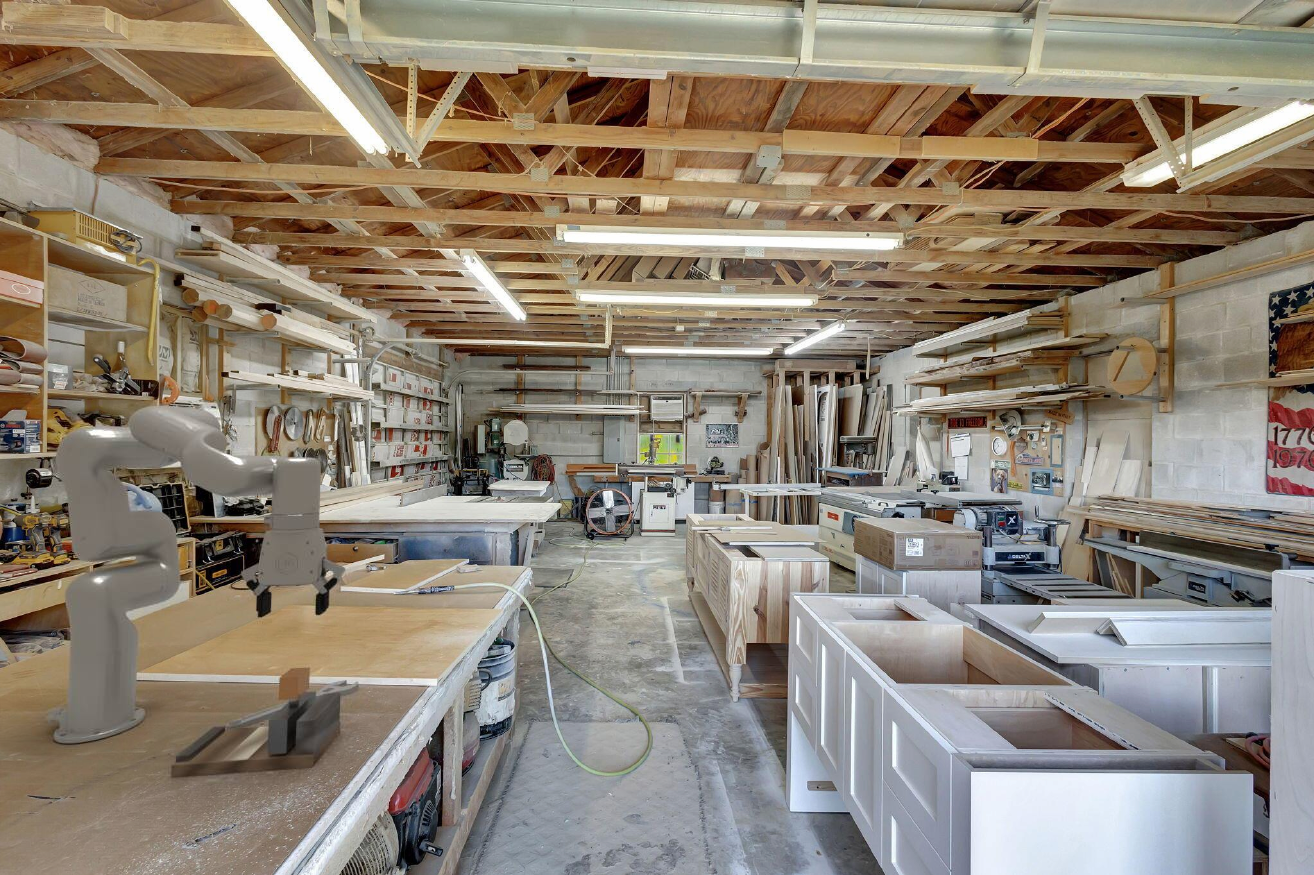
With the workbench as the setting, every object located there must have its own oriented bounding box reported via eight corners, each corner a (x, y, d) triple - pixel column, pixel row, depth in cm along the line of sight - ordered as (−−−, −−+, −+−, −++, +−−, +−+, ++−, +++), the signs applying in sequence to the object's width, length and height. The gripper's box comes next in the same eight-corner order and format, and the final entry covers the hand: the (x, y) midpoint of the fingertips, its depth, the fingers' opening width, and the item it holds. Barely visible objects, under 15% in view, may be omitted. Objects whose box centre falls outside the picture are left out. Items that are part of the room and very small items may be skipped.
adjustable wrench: (228, 735, 106) (228, 726, 106) (219, 725, 110) (219, 716, 110) (361, 691, 126) (361, 684, 126) (349, 684, 129) (349, 676, 129)
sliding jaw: (266, 754, 94) (269, 685, 95) (297, 723, 105) (300, 661, 105) (286, 753, 95) (289, 684, 95) (315, 722, 106) (317, 660, 106)
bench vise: (170, 777, 91) (173, 729, 91) (216, 740, 103) (218, 697, 103) (312, 767, 95) (313, 721, 95) (340, 732, 107) (341, 691, 107)
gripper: (232, 525, 96) (228, 622, 95) (337, 524, 99) (334, 618, 98) (256, 520, 103) (253, 610, 103) (353, 519, 106) (350, 606, 106)
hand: (292, 614), depth 100 cm, fingers open, 9 cm apart
